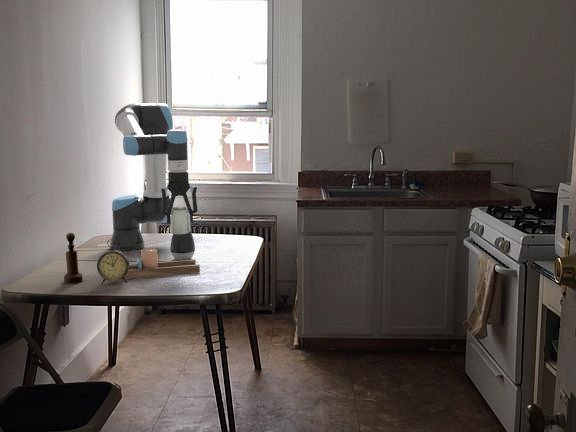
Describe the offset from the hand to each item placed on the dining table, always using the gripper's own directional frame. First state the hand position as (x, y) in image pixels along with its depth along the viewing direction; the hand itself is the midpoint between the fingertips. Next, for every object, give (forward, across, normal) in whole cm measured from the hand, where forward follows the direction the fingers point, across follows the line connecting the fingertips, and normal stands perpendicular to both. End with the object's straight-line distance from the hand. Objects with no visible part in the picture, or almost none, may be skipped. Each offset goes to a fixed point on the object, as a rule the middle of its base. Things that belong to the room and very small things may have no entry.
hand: (180, 231), depth 262 cm
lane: (+15, -8, 0) cm, 18 cm away
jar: (0, 0, 0) cm, 0 cm away
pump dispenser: (+16, +4, +21) cm, 27 cm away
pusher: (+15, -19, 0) cm, 24 cm away
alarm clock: (+16, -26, -9) cm, 32 cm away
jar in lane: (+15, -12, 0) cm, 20 cm away
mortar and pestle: (+16, -40, -2) cm, 43 cm away
